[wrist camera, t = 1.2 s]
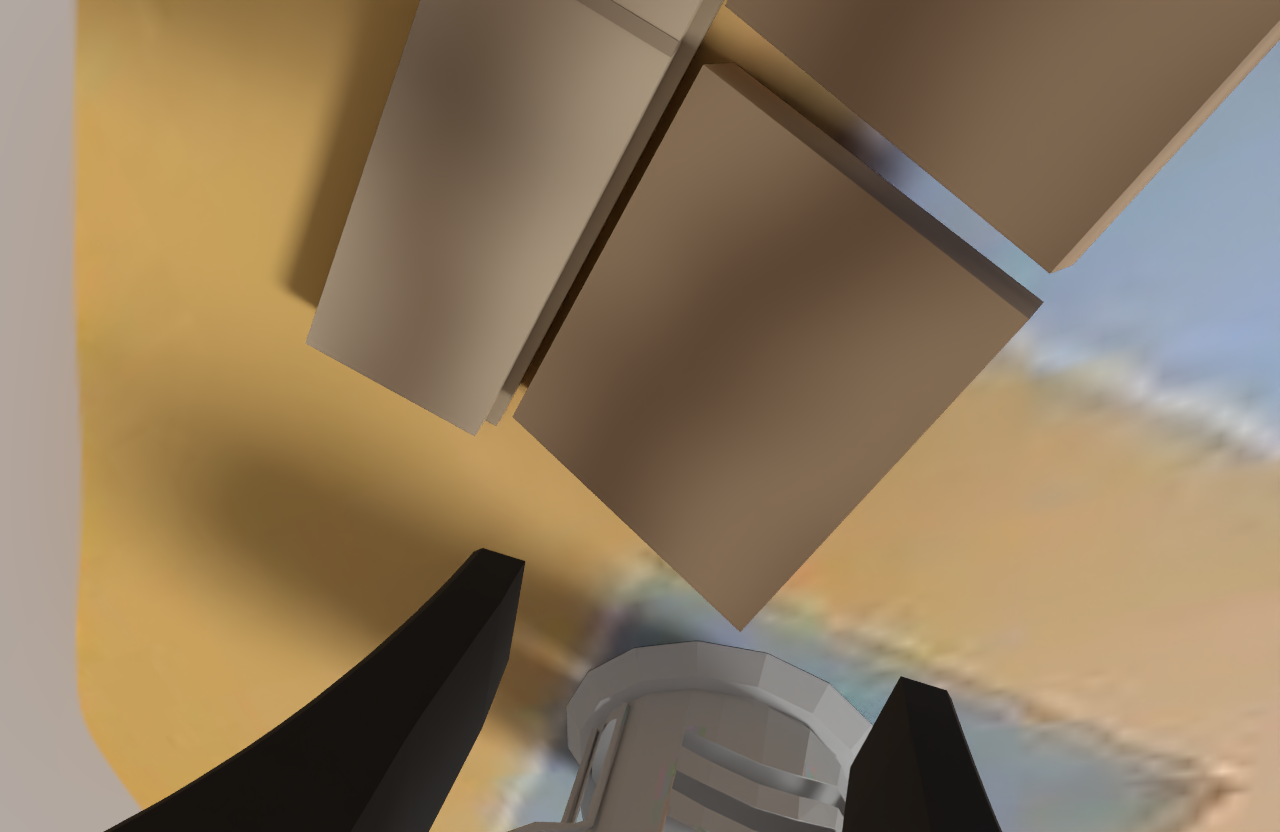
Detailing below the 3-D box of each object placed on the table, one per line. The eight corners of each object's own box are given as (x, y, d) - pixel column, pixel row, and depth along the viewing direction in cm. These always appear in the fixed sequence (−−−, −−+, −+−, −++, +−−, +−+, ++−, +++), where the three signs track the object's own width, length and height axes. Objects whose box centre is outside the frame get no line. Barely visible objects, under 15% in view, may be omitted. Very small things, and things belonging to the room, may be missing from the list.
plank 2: (1043, 301, 16) (1029, 318, 15) (763, 604, 21) (740, 631, 20) (733, 62, 17) (703, 64, 16) (544, 400, 23) (512, 416, 22)
